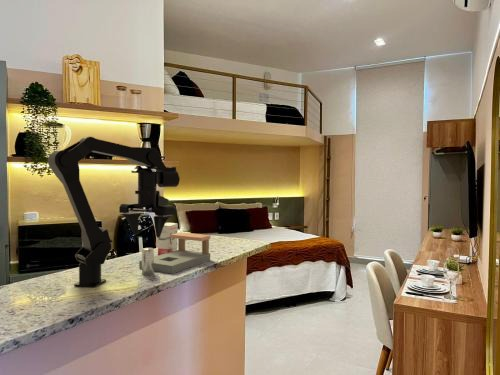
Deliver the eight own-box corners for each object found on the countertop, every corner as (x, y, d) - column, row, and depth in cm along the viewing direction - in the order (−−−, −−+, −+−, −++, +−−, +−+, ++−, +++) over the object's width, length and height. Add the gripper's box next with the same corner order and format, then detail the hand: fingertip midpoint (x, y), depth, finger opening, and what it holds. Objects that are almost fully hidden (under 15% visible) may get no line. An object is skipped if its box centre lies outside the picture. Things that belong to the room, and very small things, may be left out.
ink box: (169, 255, 146) (169, 225, 145) (157, 255, 147) (157, 225, 146) (178, 251, 154) (178, 222, 154) (166, 250, 155) (166, 222, 155)
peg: (151, 275, 117) (151, 250, 117) (140, 275, 118) (140, 249, 118) (155, 272, 121) (155, 247, 121) (144, 272, 121) (144, 247, 121)
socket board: (172, 273, 120) (172, 245, 119) (139, 268, 126) (139, 241, 126) (210, 260, 139) (210, 235, 139) (180, 255, 146) (180, 232, 145)
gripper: (186, 187, 122) (185, 235, 123) (142, 186, 130) (142, 230, 131) (164, 188, 112) (164, 240, 113) (118, 186, 120) (118, 235, 121)
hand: (146, 236), depth 119 cm, fingers open, 9 cm apart
